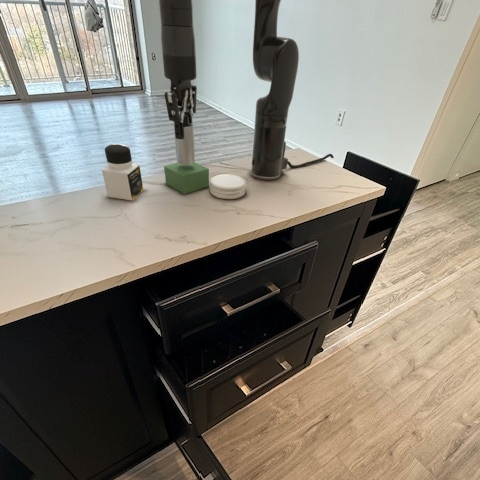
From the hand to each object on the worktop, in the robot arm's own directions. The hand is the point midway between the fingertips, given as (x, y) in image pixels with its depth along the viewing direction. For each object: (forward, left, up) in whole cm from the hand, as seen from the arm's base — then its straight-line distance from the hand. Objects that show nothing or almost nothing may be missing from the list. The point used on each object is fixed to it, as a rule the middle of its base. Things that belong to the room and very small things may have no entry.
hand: (184, 135), depth 84 cm
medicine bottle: (+17, -5, -13) cm, 22 cm away
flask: (0, 0, -6) cm, 6 cm away
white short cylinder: (-6, +11, -13) cm, 18 cm away
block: (0, 0, -13) cm, 13 cm away
